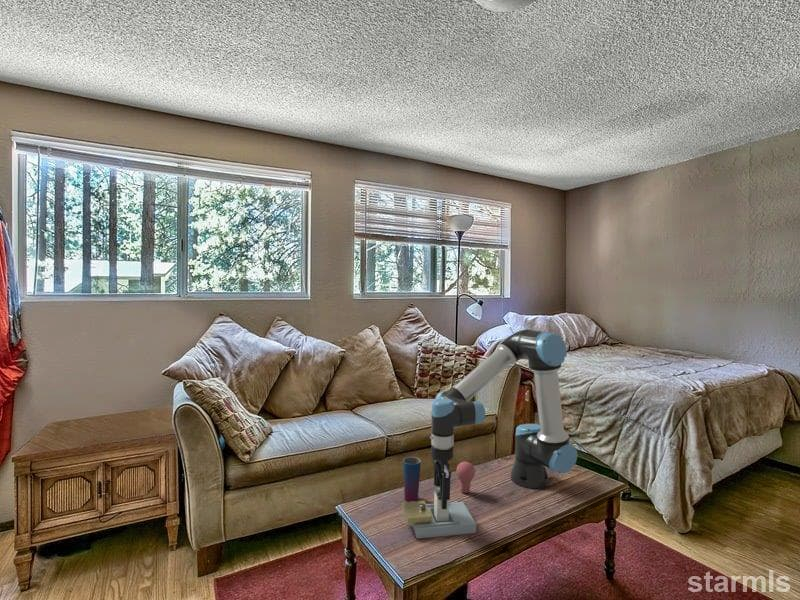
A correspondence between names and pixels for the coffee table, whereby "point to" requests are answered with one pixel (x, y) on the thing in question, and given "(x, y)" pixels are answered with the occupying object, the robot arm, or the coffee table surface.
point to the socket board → (447, 523)
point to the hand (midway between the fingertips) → (441, 512)
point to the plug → (436, 505)
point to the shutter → (416, 513)
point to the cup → (411, 478)
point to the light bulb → (465, 475)
